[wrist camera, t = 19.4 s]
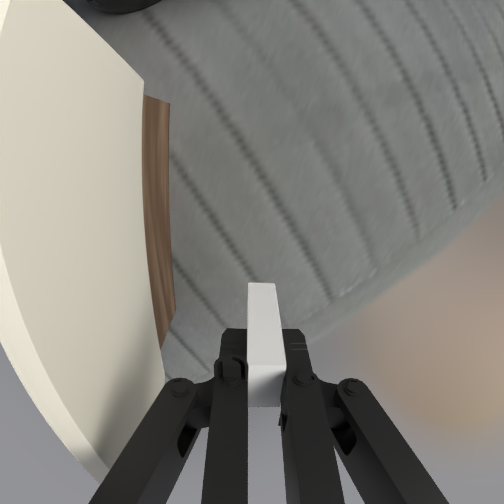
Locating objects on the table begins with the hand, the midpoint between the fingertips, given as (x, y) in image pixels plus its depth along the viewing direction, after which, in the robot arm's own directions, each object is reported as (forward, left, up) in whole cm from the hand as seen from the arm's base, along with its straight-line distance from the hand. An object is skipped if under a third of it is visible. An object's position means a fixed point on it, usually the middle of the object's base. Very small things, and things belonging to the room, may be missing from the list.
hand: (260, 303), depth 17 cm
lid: (+9, 0, +2) cm, 9 cm away
